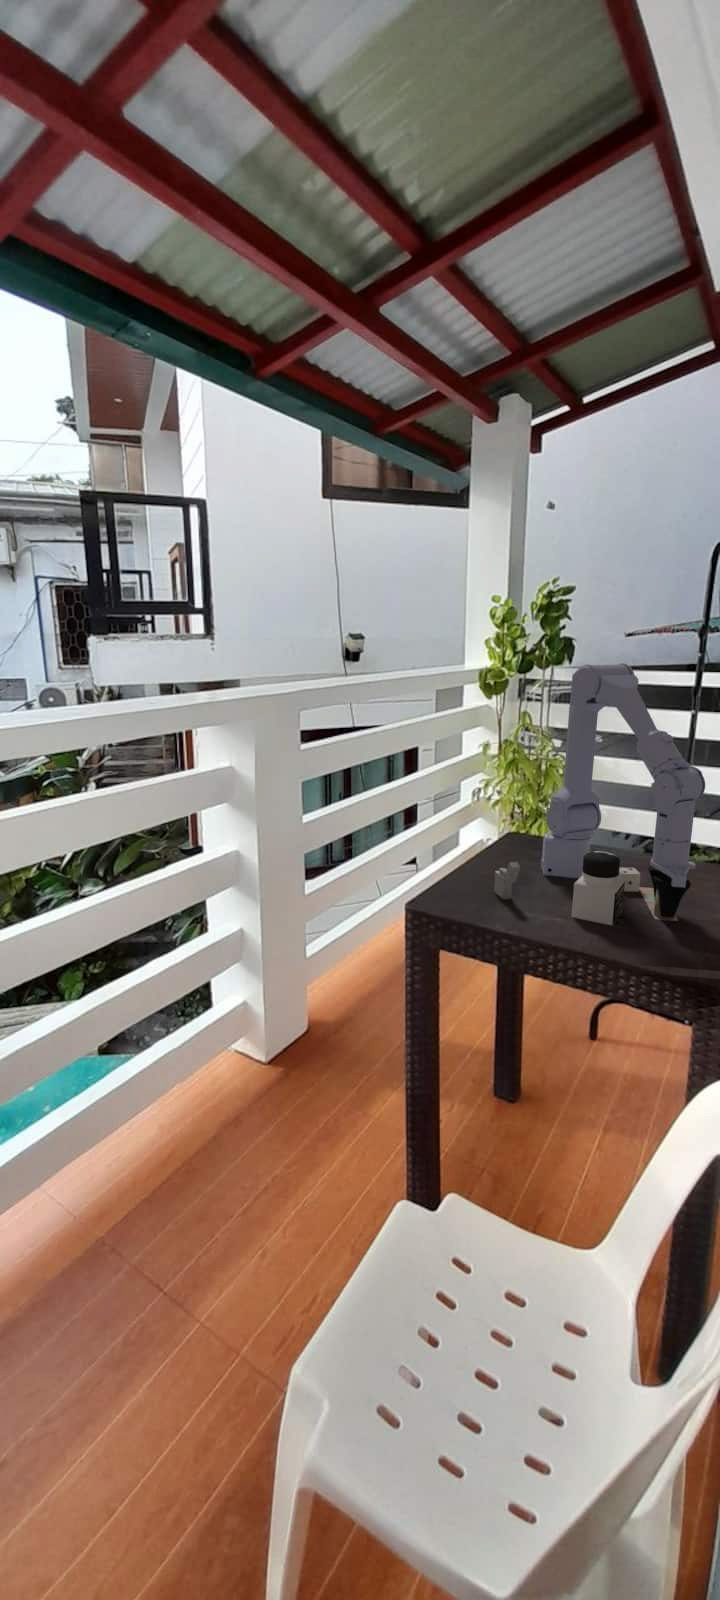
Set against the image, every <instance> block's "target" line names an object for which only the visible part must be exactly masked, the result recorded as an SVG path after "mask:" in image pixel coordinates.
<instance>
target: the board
mask: <svg viewBox="0 0 720 1600" xmlns="http://www.w3.org/2000/svg"><path fill="white" fill-rule="evenodd" d="M639 892H640V893H641V896H642V897H643V899H644V901H645V903H646V905H647V907H648V909H649V911H650V913H651V914H652V917H653V918H654V920H656V921H657V920H659V921H660V920H661V921H671V922H679V919H678V917H677V916H676V915H675V918H674V919H661V918H658V917H656V916H654V907H655V899H654V889H653V887H644V886H643V887H642V886H639Z"/></svg>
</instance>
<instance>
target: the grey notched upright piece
mask: <svg viewBox="0 0 720 1600" xmlns="http://www.w3.org/2000/svg"><path fill="white" fill-rule="evenodd" d="M520 871H521V866H520V864H519V862H518V861H511V862H509V863H508V865H507V868H505V867H501V868H499V869H498V870H495V872H494V890H493V892H494V894H496V895H497V896H498V897H499V898H501V899H502V900H511V899H512V891H513V889H512V888H513V886H512V885H513V883H516V882H517V879H518V876H519V873H520Z"/></svg>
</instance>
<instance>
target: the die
mask: <svg viewBox="0 0 720 1600" xmlns="http://www.w3.org/2000/svg"><path fill="white" fill-rule="evenodd" d="M619 878H621V879H624V880H625V885H624V892H637V893H639V892H640V890H639V887H640V884H641V873H640V872H639V871H638V870H637V869H636V868H635V867H619Z"/></svg>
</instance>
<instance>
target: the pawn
mask: <svg viewBox="0 0 720 1600" xmlns="http://www.w3.org/2000/svg"><path fill="white" fill-rule="evenodd" d="M654 916H656V917H658V918H661V919H674V918H675V916H676V915H675V916H674V917H662V916H661V914H660V909H659V894H658V888H657V889H656V897H655V907H654ZM654 916H653V917H654Z"/></svg>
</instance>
